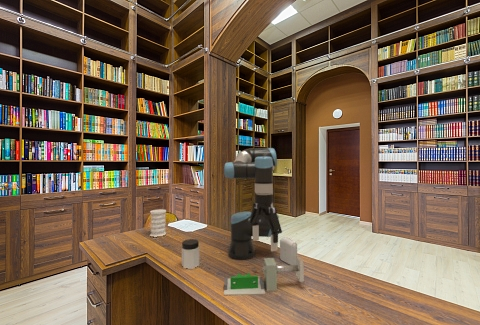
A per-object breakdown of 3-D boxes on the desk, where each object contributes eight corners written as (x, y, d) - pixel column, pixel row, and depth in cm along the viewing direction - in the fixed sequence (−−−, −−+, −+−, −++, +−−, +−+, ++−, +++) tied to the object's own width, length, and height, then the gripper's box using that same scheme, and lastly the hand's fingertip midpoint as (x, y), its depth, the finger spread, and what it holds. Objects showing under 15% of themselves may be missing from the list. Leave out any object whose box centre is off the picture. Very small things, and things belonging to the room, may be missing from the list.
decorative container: (149, 239, 150) (149, 213, 151) (149, 234, 161) (149, 209, 162) (167, 237, 155) (167, 211, 155) (166, 232, 165) (166, 208, 166)
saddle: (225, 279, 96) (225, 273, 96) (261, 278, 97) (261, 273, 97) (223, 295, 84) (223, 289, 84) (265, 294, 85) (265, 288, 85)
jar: (200, 262, 114) (200, 238, 114) (197, 269, 106) (197, 244, 106) (183, 262, 114) (183, 239, 114) (179, 269, 106) (179, 244, 106)
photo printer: (278, 259, 116) (278, 236, 117) (285, 257, 119) (284, 234, 119) (292, 267, 107) (292, 241, 108) (298, 265, 110) (298, 240, 110)
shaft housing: (264, 281, 94) (264, 258, 94) (273, 281, 94) (273, 258, 94) (266, 290, 87) (266, 265, 87) (276, 290, 87) (276, 265, 87)
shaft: (262, 275, 94) (262, 256, 94) (299, 274, 94) (299, 255, 94) (264, 282, 88) (263, 262, 88) (303, 281, 88) (303, 261, 88)
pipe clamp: (256, 283, 92) (256, 272, 92) (258, 288, 88) (258, 276, 88) (230, 284, 91) (230, 273, 92) (230, 289, 88) (230, 277, 88)
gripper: (290, 196, 82) (291, 253, 81) (255, 190, 104) (256, 235, 103) (274, 197, 78) (275, 257, 78) (241, 191, 100) (242, 238, 100)
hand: (264, 245), depth 91 cm, fingers open, 13 cm apart
